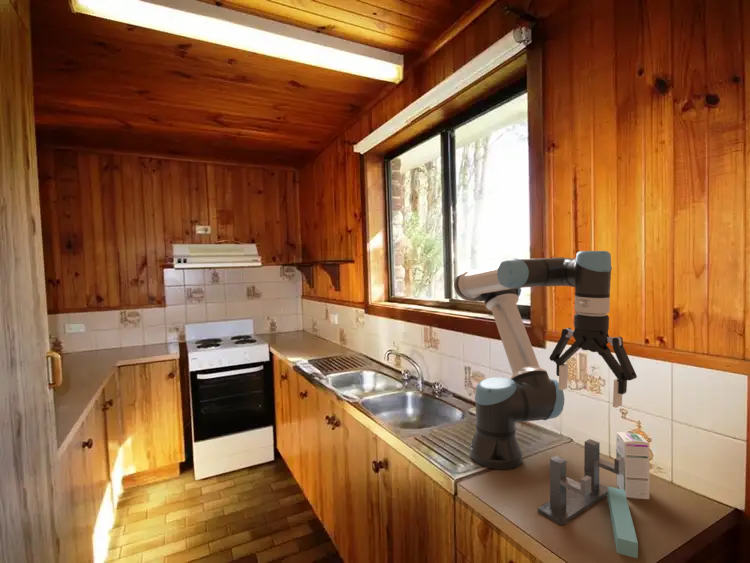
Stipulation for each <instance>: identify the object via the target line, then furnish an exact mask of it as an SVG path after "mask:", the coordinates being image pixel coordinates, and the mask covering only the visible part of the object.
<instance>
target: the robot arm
mask: <svg viewBox="0 0 750 563" xmlns="http://www.w3.org/2000/svg"><path fill="white" fill-rule="evenodd" d="M612 270H613V267H612V255H611V253H610V252H609V251H607V250H580V251H577V252H576V256H575V258H572V257H570V258H569V257H563V256H561V257H552V258H551V257H549V258H548V257H547V258H546V257H545V258H544V257H543V258H518V257H517V258H509V259H503V260H502V261H501V262H500V264H498V265H493V266H491V267H487V268H483V269H469V270H465V271H461V272H460V273H458V275H457V276H456V277H455V279H454V283H453V287H454V292H455V293H456V295H457V296H458V297H460V298H461V299H463V300H465V301H467V302H476V303H477V302H484V305H485V307H486V309H487V310H488V311H491V312H492V316H493V319H494V320H495V321H494V322H495V324H496V327H497V331H498V334H499V336H500V339H501V343H502V345H503V349H504V351H505V355H506V357H507V361H508V364H509V367H510V370H511V374H512V375H511V377H510V378H509V377H504V376H502V377H499V376H497V377H488V378H484V379H483V380H481V381H479V382H478V383H477V385H476V387H475V395H474V402H475V431H474V434H473V436H472V437H473V438H472V440H471V443H470V447H469V448H470V450H469V453H470V454H469V455H470V458H471V459H472V460H473V462H475V463H476V464H478V465H480V466H483V467H485V468H489V469H494V470H502V471H503V470H504V471H505V470H512V469H516V468H518V467H519V466H521V464H522V462H523V452H522V450H521V447H520V443H519V440H518V437H517V423H526V422H534V421H548V420H550V419H555V418H558V417H559V416H560V415H561V414H562V412H563V411H564V406H565V394H564V390H566V389H568V376H569V375H568V373H569V372H568V371H569V369H568V368H569V364H567V361H568V360H569V359H570V358H571V357H573V356H574V355H575V354H576V353H577V352H578V351H579V350H580V349H581V350H582V351H589V352H592V353H597V354H598V355H599V356H600V357H601V358H602V359H603V361H604V362H605V363H606V364H607V366H608V368H609V369H610V370H611V372H612V373H613V375H614V376H615V377H616V378H615V379H614V380H613V392H612V394H613V395H612V408H618V407H621V406H622V405H623V395H625V394H626V393H627V391H628V390H627V387H628V381H632V380H634V379H637V378H638V376H637V373H636V371H635V369H634V366H633V365H632V363H631V360H630V358H629V356H628V353H627V351H626V349H625V347H624V340H623V337H622V336H613V337H612V336H610V335H609V328H610V327H609V325H610V324H609V323H610V316H609V315H608V314H609V313H610V300H611V299H610V297H611V279H612V278H611V276H612ZM535 287H536V288H537V287H540V288H541V287H544V288H545V287H570V288H571V287H572V288H574V290H575V291H574V295H575V296H574V311H575V313H574V316H573V318H574V319H573V326H574V330H573V329H571V328H572V327H571V328H570V327H567V328H562V329H561V336H560V338H559V339H558V341H557V343H556V345H555V347H554V348H553V350H552V353H551V354H550V356H549V360H550V361H551V362H555V365H556V372H555V373H556V376H557V377H558V381H557V380H556V379H553V378H550V377H549V373H548V371H547V370H546V369H543V368H541V367H540V363H539V362H538V360H537V359H538V358H537V357H536V353H535V351H534V348H533V346H532V343H531V341H530V337H529V335H528V333H527V330H526V326H525V324H524V321H523V319H522V316H521V313H520V311H519V308H518V305H517V303H518V302H519V299H520V298H519V297H520V296H521V293H522V288H535ZM572 337H573V338H574V340H575V341H574V342H573V343H572V344H571V345H570V347H569V348H567V350H566V351H565V352H564V353H563V351H564V350H565V348H566V346H567V344H568V343H569V341H570V339H571V338H572ZM609 343H610V344H609ZM608 344H609V345H610V346H612V349H613V352H614V354H615V356H616V357H615V356H614V355H613V353H612V351H611V349H610V347H609V346H608ZM562 353H563V354H562ZM616 358H617V359H616Z"/></svg>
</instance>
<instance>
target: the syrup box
mask: <svg viewBox="0 0 750 563" xmlns="http://www.w3.org/2000/svg"><path fill="white" fill-rule="evenodd" d="M615 434H616V435H615V436H616V437H615V441H616V443H615V445H616V446H615V447H616V448H615V450H616V451H615V453H616V454H615V458H617V457H619V456H621V457H624V472H622V473H621V474H619V475H618V474H615V477H616V486H617V488H618V489H623V490H624V491H625V494H626V498H630V499H637V500H639V499H640V500H650V487H651V486H650V480H651V478H650V476H651V475H650V442H648V440H646V439H645V437H644V436H643V435H642V434H640V433H638V432H628V431H616V433H615Z"/></svg>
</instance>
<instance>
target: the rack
mask: <svg viewBox="0 0 750 563" xmlns="http://www.w3.org/2000/svg"><path fill="white" fill-rule="evenodd" d="M600 444H601V443H600V442H598V441H596V440H593V439H590V438H589V439H587V440H585V441H584V452H583V453H584V454H583V455H584V461H583V462H584V463H583V464H584V467H583V470H584V472H583V473H584V474H583V477H582V478H580V482H578V481H576V480H574V479H572V478H570V477H568V476H567V459H565V458H563V457H560V456H559V455H555V456H552V457H551V458H550V459H549V460H550V461H549V474H550V475H549V480H550V481H549V484H550V485H549V494H550V495H549V497H550V498H549V501H547V502H545V503H544V504H542V505H540V506H539V507H537V513H538V514H539V515H542V516H544V517H546V518H547V519H549V520H550V521H553V522H554V523H556V524H557V525H558V526H561V527H563V526H564V525H566V524H567V523H569V521H571V520H573V519H574V518H576V517H577V516H579V515H580V514H582V513H584V511H586V510H588V509H589V508H591V507H592V506H593V505H595V504H596V503H598V502H599V501H601V500H602V499H603V498H605V497H608V487H609V486H606V485H604V484H601V483H600V468H601V469H604V470H606V471H608V472H611V473H613V474H615V475H616V474H618V475H619V474H621V473H622V472H624V457H621V456H619V457H617V458H616V457H615V458H614V462H610V461H608V460H606V459H603V458H601V456H600V450H601V449H600V448H601V447H600Z"/></svg>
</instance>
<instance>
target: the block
mask: <svg viewBox="0 0 750 563" xmlns="http://www.w3.org/2000/svg"><path fill="white" fill-rule="evenodd" d="M607 487H608V495H607V503H608V509H609V514H610V520H611V525H612V531H613V536H614V543H615V548H616V553H617V554H619V555H623V556H627V557H631V558H635V559H638V558H639V542H638V539H637V534H636V530H635V526H634V522H633V518H632V515H631V514H632V513H631V511H630V507H629V502H628V499H627V498H628V497H626V494H625V491H624V490H623V489H619V488H618V487H613V486H612V487H611V486H607Z"/></svg>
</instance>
